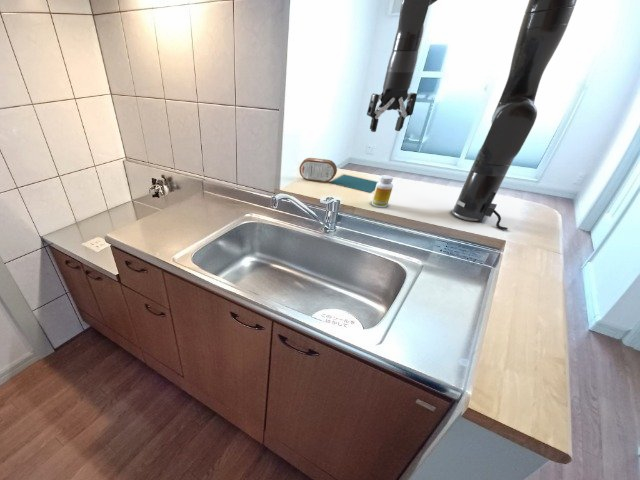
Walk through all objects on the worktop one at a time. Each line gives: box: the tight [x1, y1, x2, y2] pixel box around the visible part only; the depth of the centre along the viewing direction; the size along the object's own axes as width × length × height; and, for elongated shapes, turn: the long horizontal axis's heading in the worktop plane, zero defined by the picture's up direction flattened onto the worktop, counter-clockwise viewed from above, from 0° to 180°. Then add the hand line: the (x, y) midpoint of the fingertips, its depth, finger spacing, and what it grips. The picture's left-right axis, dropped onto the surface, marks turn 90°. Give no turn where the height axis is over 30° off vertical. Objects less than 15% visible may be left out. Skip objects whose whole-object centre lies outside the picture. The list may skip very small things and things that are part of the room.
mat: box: [329, 174, 379, 193], centre depth 132 cm, size 17×13×1 cm
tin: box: [298, 157, 338, 183], centre depth 132 cm, size 15×3×8 cm, turn 66°
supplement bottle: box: [371, 174, 394, 208], centre depth 111 cm, size 5×5×10 cm
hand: (385, 131), depth 105 cm, fingers open, 8 cm apart
